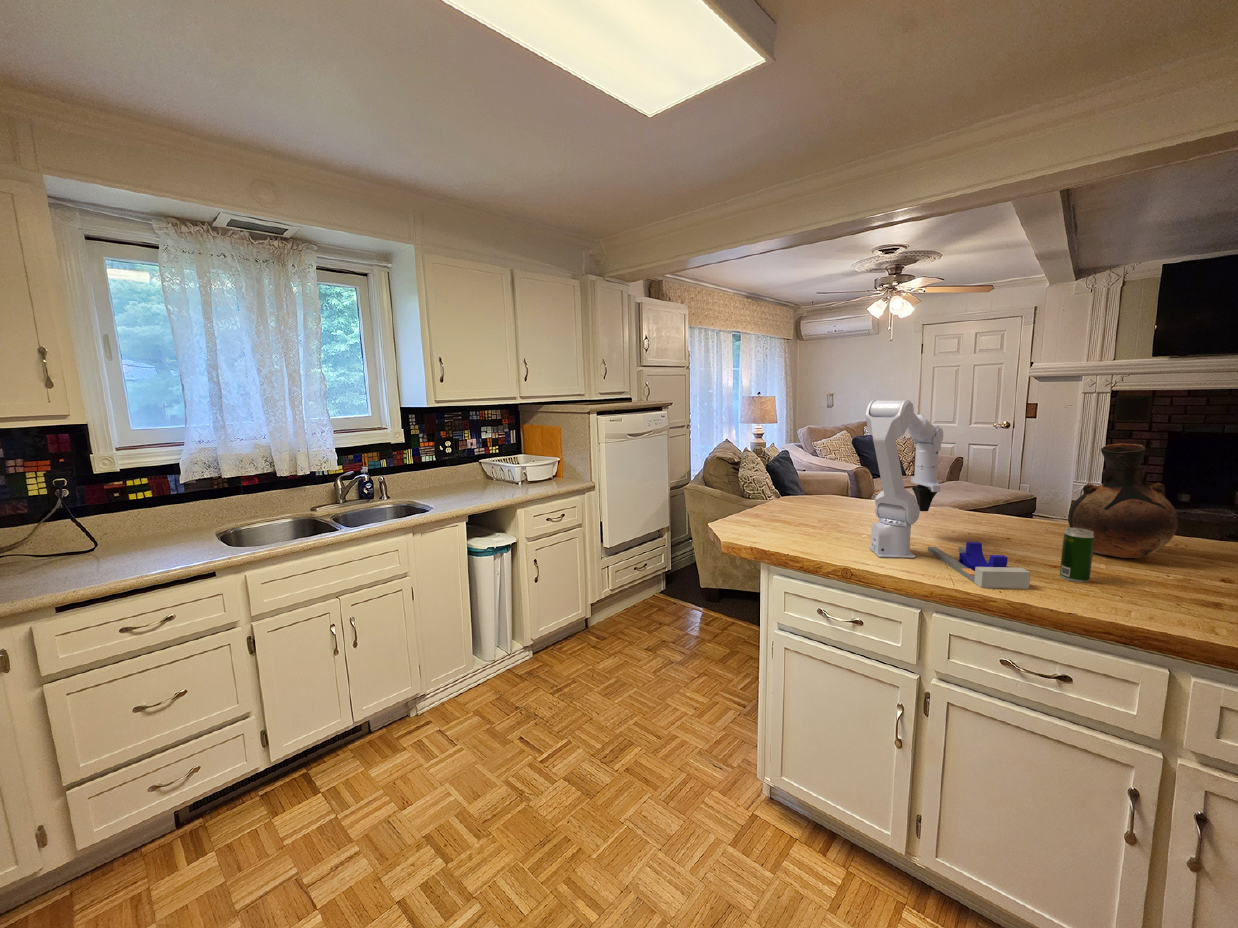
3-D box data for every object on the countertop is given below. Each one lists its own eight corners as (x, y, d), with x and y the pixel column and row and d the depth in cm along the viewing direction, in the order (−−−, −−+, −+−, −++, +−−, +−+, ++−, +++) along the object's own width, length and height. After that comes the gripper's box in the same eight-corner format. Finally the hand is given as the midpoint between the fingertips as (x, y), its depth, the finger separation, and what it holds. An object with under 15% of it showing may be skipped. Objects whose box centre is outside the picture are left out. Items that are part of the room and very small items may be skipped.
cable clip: (958, 563, 133) (960, 541, 132) (977, 563, 133) (978, 541, 132) (985, 580, 122) (987, 556, 121) (1005, 581, 121) (1007, 557, 120)
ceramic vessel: (1156, 551, 137) (1171, 442, 133) (1187, 572, 122) (1205, 450, 118) (1056, 541, 148) (1067, 440, 143) (1073, 560, 132) (1086, 447, 128)
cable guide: (981, 587, 117) (982, 571, 116) (927, 550, 143) (928, 537, 143) (1028, 588, 116) (1030, 572, 115) (966, 551, 142) (967, 537, 141)
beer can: (1078, 584, 117) (1083, 534, 115) (1053, 576, 122) (1058, 528, 121) (1095, 581, 118) (1101, 532, 117) (1070, 573, 124) (1075, 526, 122)
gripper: (953, 469, 141) (950, 517, 143) (929, 462, 155) (926, 505, 157) (926, 470, 142) (923, 516, 144) (904, 462, 156) (902, 505, 158)
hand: (923, 510), depth 150 cm, fingers closed
